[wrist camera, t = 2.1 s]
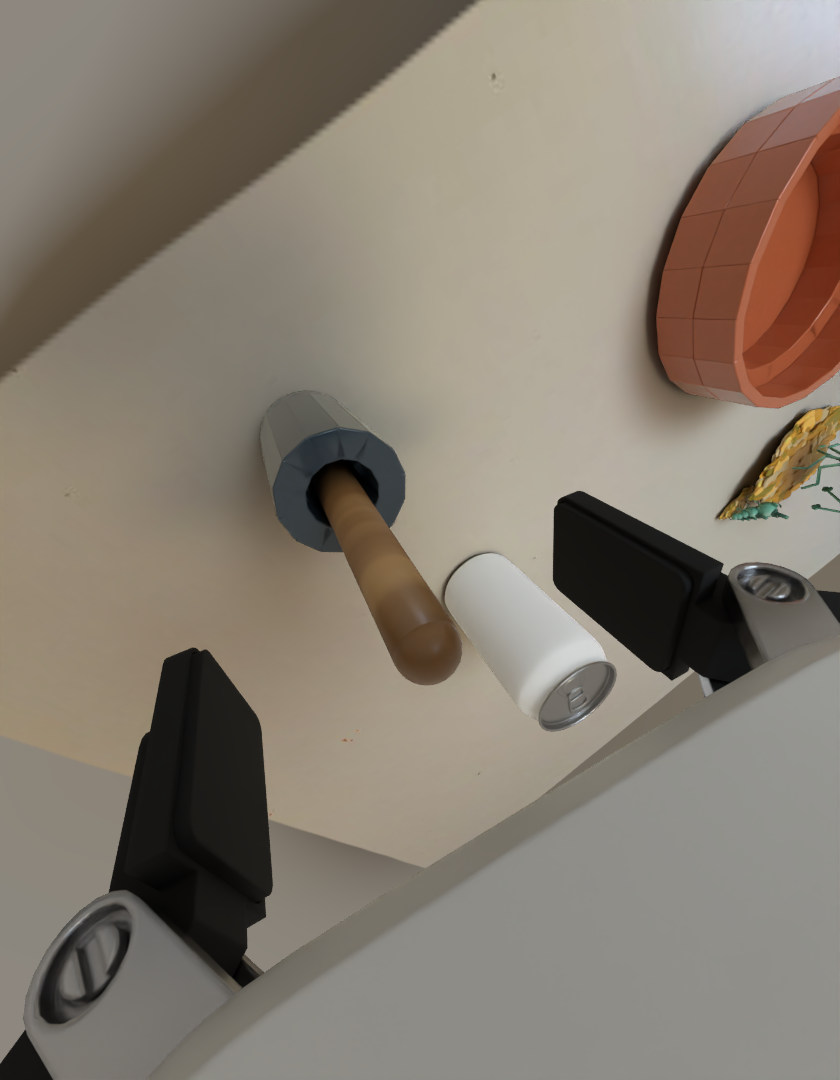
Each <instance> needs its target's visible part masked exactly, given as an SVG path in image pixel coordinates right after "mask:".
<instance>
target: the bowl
mask: <svg viewBox="0 0 840 1080" xmlns="http://www.w3.org/2000/svg"><path fill="white" fill-rule="evenodd" d="M656 317H657V318H656V323H657V337H658V350H659V357H660V359H661V361H662V364H663V366H664V368H665V371H666V373H667V375H668V378H669V379H670V380H671V381H672V382H673V383H674V384H676V385H677V386H678V387H680V388H681V389H682V390H683V391H685V392H686V393H688V394H693V395H698V396H703V397H708V398H713V399H719V400H724V401H729V402H734V403H739V404H744V405H749V406H755V407H764V408H781V407H783V406H786V405H788V404H791V403H793V402H796V401H798V400H800V399H803V398H805V397H806V396H808V395H809V394H810V393H812V392H813V391H814V390H816V389H817V388H818V387H820V386H821V385H822V384H824V383H825V382H826V381H828V380H829V379H830V378H831V377H833V376H834V375H835V374H836V373H837V372H838V371H839V370H840V76H839V77H837V78H834V79H831V80H829V81H826V82H823V83H821V84H818V85H815V86H812V87H810V88H807V89H804V90H802V91H799V92H796V93H794V94H791V95H788V96H786V97H783V98H781V99H778V100H777V101H776V102H774V103H773V104H771V105H770V106H769V107H767V108H766V109H764V110H763V111H761V112H760V113H759V114H757V115H756V116H754V117H753V118H752V119H750V120H749V121H747V122H746V123H745V124H744V125H743V126H742V127H741V128H740V129H739V130H738V131H737V133H736V134H735V135H734V136H733V138H732V139H731V140H730V141H729V142H728V144H727V145H726V146H725V147H724V149H723V150H722V151H721V152H720V153H719V155H718V156H717V157H716V158H715V160H714V161H713V162H712V163H711V164H710V166H709V167H708V168H707V170H706V172H705V174H704V176H703V178H702V180H701V181H700V183H699V185H698V187H697V189H696V191H695V193H694V194H693V196H692V198H691V200H690V202H689V204H688V206H687V207H686V209H685V211H684V213H683V215H682V217H681V220H680V222H679V225H678V228H677V231H676V234H675V237H674V240H673V243H672V246H671V249H670V252H669V255H668V258H667V261H666V264H665V267H664V271H663V274H662V281H661V287H660V294H659V301H658V307H657V314H656Z"/></svg>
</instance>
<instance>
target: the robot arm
mask: <svg viewBox="0 0 840 1080" xmlns="http://www.w3.org/2000/svg"><path fill="white" fill-rule="evenodd" d="M722 567H723V563H721V562H719V561H717V560H715V559H713V558H711V557H709V556H708V555H706V554H704V553H702V552H700V551H698V550H696V549H694V548H692V547H690V546H688V545H686V544H684V543H682V542H680V541H678V540H676V539H674V538H672V537H670V536H668V535H667V534H665V533H663V532H661V531H659V530H657V529H655V528H653V527H651V526H649V525H647V524H645V523H643V522H641V521H639V520H637V519H635V518H633V517H631V516H629V515H627V514H626V513H624V512H622V511H620V510H618V509H616V508H614V507H612V506H610V505H608V504H606V503H604V502H602V501H600V500H598V499H596V498H594V497H592V496H590V495H588V494H586V493H585V492H582V491H576V492H574V493H572V494H569V495H567V496H564V497H562V498H560V499H559V500H558V503H557V505H556V506H555V508H554V541H553V581H554V584H555V586H556V587H557V589H558V590H559V591H560V592H562V593H563V594H564V595H565V596H566V597H567V598H569V599H570V600H571V601H572V602H573V603H574V604H576V605H577V606H578V607H579V608H580V609H582V610H583V611H584V612H585V613H586V614H587V615H589V616H590V617H591V618H592V619H593V620H594V621H596V622H597V623H598V624H599V625H600V626H602V627H603V628H604V629H605V630H606V631H607V632H609V633H610V634H611V635H612V636H613V637H614V638H616V639H617V640H618V641H619V642H620V643H622V644H623V645H624V646H625V647H626V648H627V649H629V650H630V651H631V652H632V653H633V654H634V655H636V656H637V657H638V658H639V659H640V660H642V661H643V662H644V663H645V664H646V665H647V666H649V667H650V668H651V669H653V670H654V671H657V672H662V673H663V674H664V675H665V676H667V677H668V678H669V679H670V680H671V681H672V680H674V679H675V678H677V677H679V676H681V675H682V674H684V673H686V672H687V671H688V670H689V667H690V668H692V669H693V670H694V671H695V672H697V673H698V676H699V680H700V683H701V686H702V689H703V693H704V697H705V698H704V699H702V700H701V701H699V702H697V703H696V704H694V705H692V706H691V707H689V708H687V709H686V710H684V711H682V712H681V713H679V714H677V715H676V716H674V717H672V718H671V719H669V720H667V721H666V722H664V723H662V724H661V725H659V726H657V727H656V728H654V729H653V730H651V731H649V732H648V733H646V734H645V735H643V736H641V737H639V738H638V739H636V740H634V741H633V742H631V743H630V744H628V745H626V746H624V747H623V748H621V749H620V750H618V751H616V752H615V753H613V754H611V755H610V756H608V757H607V758H605V759H603V760H601V761H600V762H598V763H597V764H595V765H593V766H592V767H590V768H588V769H587V770H585V771H583V772H582V773H580V774H579V775H577V776H575V777H574V778H572V779H570V780H569V781H567V782H565V783H564V784H562V785H561V786H559V787H557V788H556V789H554V790H552V791H551V792H549V793H547V794H546V795H544V796H543V797H541V798H539V799H538V800H536V801H534V802H533V803H531V804H529V805H528V806H526V807H525V808H523V809H521V810H520V811H518V812H516V813H515V814H513V815H511V816H510V817H508V818H507V819H505V820H503V821H502V822H500V823H498V824H497V825H495V826H494V827H492V828H490V829H489V830H487V831H486V832H484V833H482V834H481V835H479V836H477V837H476V838H474V839H473V840H471V841H469V842H468V843H466V844H464V845H463V846H461V847H460V848H458V849H456V850H455V851H453V852H452V853H450V854H448V855H447V856H445V857H443V858H442V859H440V860H439V861H437V862H435V863H434V864H432V865H430V866H429V867H427V868H426V869H424V870H423V871H421V872H419V873H418V874H416V875H414V876H413V877H411V878H410V879H408V880H406V881H405V882H403V883H401V884H400V885H398V886H396V887H395V888H393V889H392V890H390V891H388V892H387V893H385V894H384V895H382V896H380V897H379V898H377V899H376V900H374V901H373V902H371V903H369V904H368V905H366V906H365V907H363V908H362V909H360V910H359V911H357V912H355V913H354V914H352V915H351V916H349V917H348V918H346V919H345V920H343V921H341V922H340V923H338V924H337V925H335V926H334V927H332V928H330V929H329V930H327V931H326V932H324V933H323V934H321V935H320V936H318V937H317V938H315V939H314V940H312V941H310V942H309V943H307V944H306V945H304V946H302V947H301V948H299V949H298V950H296V951H295V952H293V953H292V954H290V955H289V956H287V957H286V958H285V959H283V960H282V961H280V962H279V963H277V964H276V965H275V966H273V967H272V968H271V969H269V970H268V971H266V972H265V973H264V972H263V971H262V970H261V969H260V968H258V967H257V966H256V965H255V964H254V963H253V962H252V961H251V960H250V959H249V958H248V957H246V955H244V953H245V951H246V949H247V928H248V927H250V926H251V925H253V924H255V923H256V922H258V921H260V920H262V919H263V918H265V917H266V909H265V897H267V896H269V895H270V894H271V892H272V886H273V882H272V867H271V853H270V840H269V827H268V812H267V799H266V785H265V772H264V758H263V745H262V731H261V726H260V722H259V719H258V717H257V716H256V714H255V713H254V711H253V710H252V709H251V707H250V706H249V705H248V703H247V702H246V701H245V699H244V698H243V697H242V695H241V694H240V693H239V691H238V690H237V688H236V687H235V686H234V684H233V683H232V682H231V680H230V679H229V678H228V676H227V675H226V674H225V672H224V671H223V670H222V668H221V667H220V666H219V664H218V663H217V662H216V660H215V659H214V658H213V656H212V655H211V653H210V652H209V651H208V650H203V651H199V650H198V649H196V648H190V649H188V650H185V651H183V652H180V653H178V654H175V655H173V656H170V657H168V658H166V659H165V660H164V663H163V667H162V672H161V677H160V682H159V688H158V693H157V698H156V703H155V709H154V714H153V719H152V724H151V730H150V732H148V733H146V734H145V735H144V737H143V738H142V740H141V743H140V746H139V751H138V755H137V760H136V765H135V770H134V774H133V779H132V784H131V789H130V794H129V799H128V803H127V808H126V813H125V818H124V822H123V827H122V832H121V837H120V841H119V846H118V851H117V856H116V861H115V865H114V870H113V875H112V880H111V885H110V889H109V893H108V894H105V895H103V896H101V897H98V898H97V899H95V900H94V901H92V902H91V903H90V904H88V905H87V906H86V907H84V908H83V909H82V910H80V911H79V912H78V913H77V914H76V915H75V916H74V917H73V918H72V919H71V920H70V921H69V922H68V923H67V924H66V926H65V927H64V928H63V929H62V930H61V932H60V933H59V934H58V935H57V937H56V938H55V940H54V941H53V942H52V944H51V945H50V946H49V948H48V949H47V951H46V953H45V954H44V956H43V958H42V960H41V962H40V963H39V966H38V967H37V969H36V971H35V973H34V975H33V978H32V981H31V984H30V987H29V989H28V992H27V995H26V999H25V1008H24V1016H23V1020H24V1024H25V1028H26V1030H25V1031H24V1032H23V1034H22V1035H21V1036H20V1038H19V1039H18V1041H17V1042H16V1043H15V1045H14V1046H13V1047H12V1049H11V1050H10V1051H9V1053H8V1054H7V1055H6V1057H5V1058H4V1059H3V1061H2V1062H1V1064H0V1080H840V593H837V592H828V591H818V590H816V589H815V588H814V586H813V585H812V584H811V583H810V582H809V581H808V580H807V579H806V578H804V577H803V576H801V575H800V574H798V573H796V572H794V571H792V570H789V569H787V568H784V567H781V566H777V565H773V564H768V563H759V562H755V563H744V564H740V565H737V566H736V567H734V568H732V569H731V571H730V573H729V575H728V576H727V575H725V574H723V573H722V572H721V570H722Z"/></svg>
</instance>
